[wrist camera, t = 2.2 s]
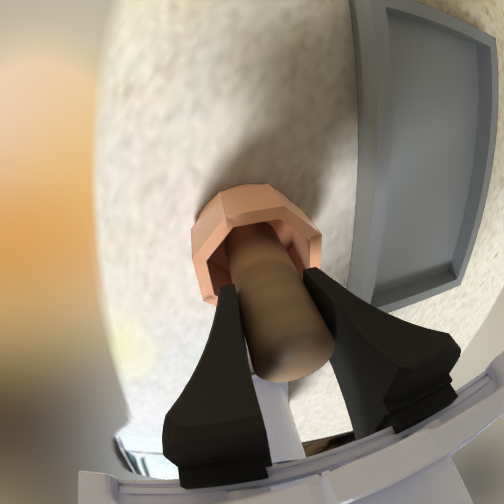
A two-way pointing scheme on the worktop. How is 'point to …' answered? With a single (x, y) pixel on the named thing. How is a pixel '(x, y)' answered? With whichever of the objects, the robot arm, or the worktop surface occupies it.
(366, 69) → the tray
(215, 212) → the cup
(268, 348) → the pin
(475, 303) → the worktop surface
